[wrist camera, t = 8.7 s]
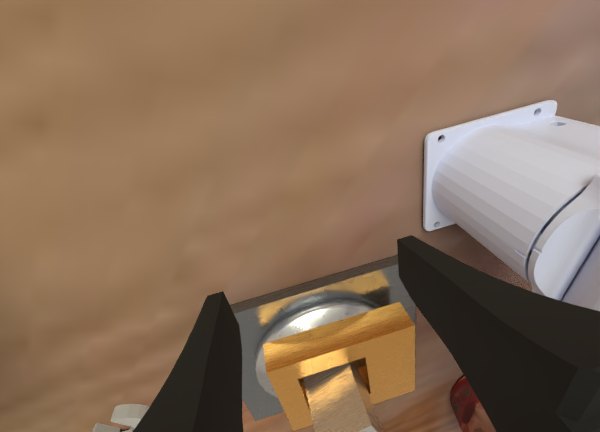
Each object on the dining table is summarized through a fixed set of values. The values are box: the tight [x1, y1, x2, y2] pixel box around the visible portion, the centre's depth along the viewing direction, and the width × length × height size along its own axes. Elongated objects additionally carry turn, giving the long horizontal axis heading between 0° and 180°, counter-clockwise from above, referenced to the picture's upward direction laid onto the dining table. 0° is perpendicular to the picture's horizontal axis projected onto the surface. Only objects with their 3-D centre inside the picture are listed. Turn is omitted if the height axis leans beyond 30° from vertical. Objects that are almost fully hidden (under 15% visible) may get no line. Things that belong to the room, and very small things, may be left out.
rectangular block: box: [303, 360, 384, 432], centre depth 25 cm, size 4×4×7 cm
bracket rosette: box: [230, 255, 416, 431], centre depth 27 cm, size 18×16×4 cm
